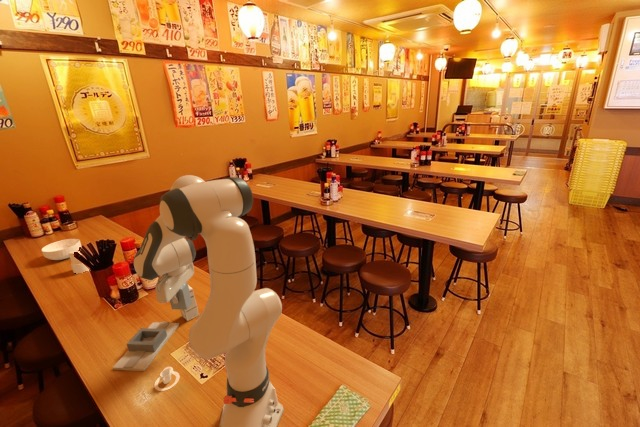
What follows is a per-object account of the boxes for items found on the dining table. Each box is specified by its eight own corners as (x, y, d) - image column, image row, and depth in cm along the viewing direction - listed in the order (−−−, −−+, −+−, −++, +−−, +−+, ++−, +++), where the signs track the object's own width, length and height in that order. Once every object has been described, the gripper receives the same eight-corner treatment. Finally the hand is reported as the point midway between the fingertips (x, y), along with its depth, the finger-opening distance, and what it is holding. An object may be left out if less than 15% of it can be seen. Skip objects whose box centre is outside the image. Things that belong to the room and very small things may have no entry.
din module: (186, 309, 115) (182, 289, 112) (170, 309, 115) (165, 289, 112) (192, 303, 118) (187, 283, 115) (176, 302, 119) (171, 283, 116)
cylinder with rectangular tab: (69, 273, 177) (62, 255, 173) (83, 266, 185) (77, 248, 181) (82, 274, 175) (76, 256, 171) (95, 266, 184) (89, 249, 180)
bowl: (90, 251, 205) (87, 239, 202) (60, 265, 187) (55, 253, 185) (69, 248, 211) (65, 237, 208) (38, 262, 193) (33, 250, 190)
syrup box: (199, 315, 136) (193, 287, 132) (186, 322, 132) (180, 294, 127) (193, 310, 140) (187, 283, 135) (181, 316, 136) (174, 289, 131)
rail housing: (144, 371, 109) (141, 361, 107) (113, 369, 110) (109, 360, 108) (179, 324, 131) (177, 316, 129) (153, 324, 132) (150, 315, 131)
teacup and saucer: (164, 369, 109) (162, 361, 108) (185, 371, 108) (183, 362, 107) (149, 391, 101) (146, 382, 100) (171, 393, 100) (168, 383, 99)
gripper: (164, 282, 101) (173, 316, 106) (193, 253, 120) (200, 283, 125) (146, 281, 102) (156, 315, 106) (178, 253, 121) (185, 283, 125)
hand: (180, 298), depth 116 cm, fingers closed on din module, 4 cm apart
